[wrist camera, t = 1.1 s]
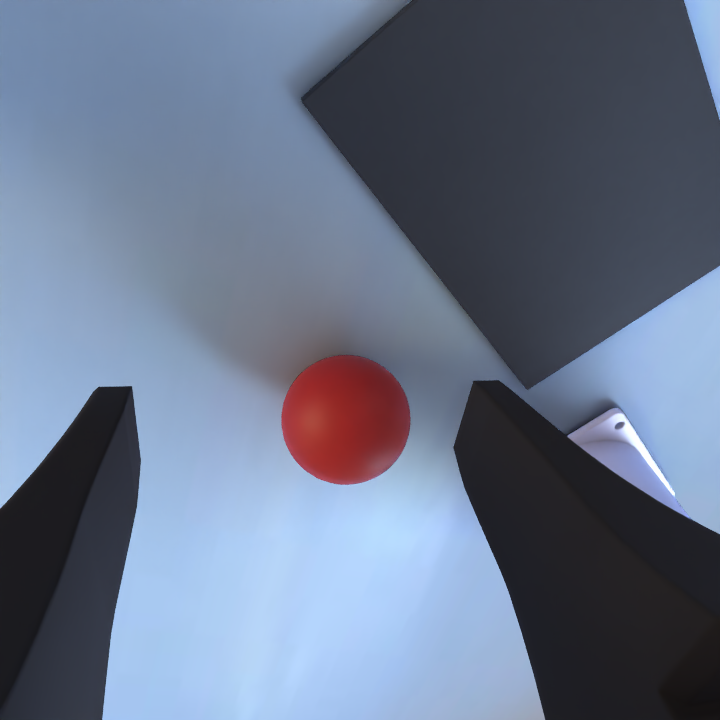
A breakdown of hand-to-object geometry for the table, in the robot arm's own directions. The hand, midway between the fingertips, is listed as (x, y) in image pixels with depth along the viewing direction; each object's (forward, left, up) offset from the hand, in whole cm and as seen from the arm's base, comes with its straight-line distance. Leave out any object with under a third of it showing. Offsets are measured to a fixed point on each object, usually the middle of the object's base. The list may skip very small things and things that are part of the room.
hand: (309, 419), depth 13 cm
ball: (-7, +3, -10) cm, 12 cm away
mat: (-5, -9, -10) cm, 14 cm away
